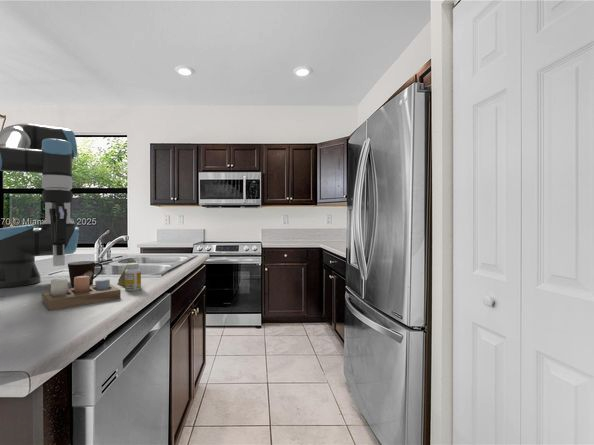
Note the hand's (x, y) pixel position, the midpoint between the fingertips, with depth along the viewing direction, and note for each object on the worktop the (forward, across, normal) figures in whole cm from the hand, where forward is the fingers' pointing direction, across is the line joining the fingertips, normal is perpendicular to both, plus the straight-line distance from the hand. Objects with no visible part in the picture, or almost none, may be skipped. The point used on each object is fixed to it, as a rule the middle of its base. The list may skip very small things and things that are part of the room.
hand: (59, 265), depth 101 cm
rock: (+12, +12, -24) cm, 30 cm away
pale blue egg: (+11, 0, -12) cm, 17 cm away
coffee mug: (+12, +17, -11) cm, 24 cm away
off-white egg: (+10, 0, 0) cm, 10 cm away
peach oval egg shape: (+10, 0, -6) cm, 11 cm away
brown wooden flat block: (+12, 0, -6) cm, 13 cm away
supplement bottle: (+12, +4, -23) cm, 26 cm away
